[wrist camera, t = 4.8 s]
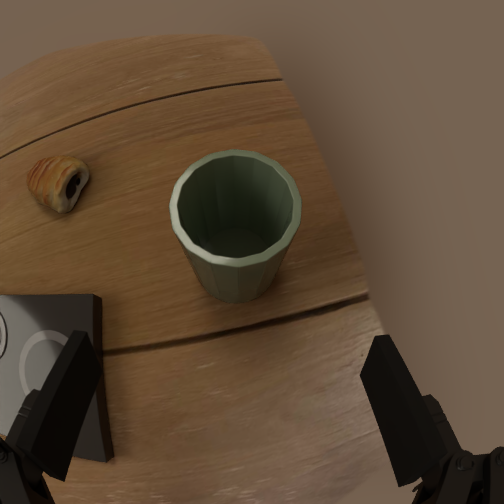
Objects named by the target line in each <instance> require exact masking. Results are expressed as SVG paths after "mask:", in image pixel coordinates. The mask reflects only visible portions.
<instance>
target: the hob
mask: <svg viewBox="0 0 504 504" xmlns="http://www.w3.org/2000/svg"><path fill="white" fill-rule="evenodd" d="M101 300H102V298H101V297H99V296H96V295H94V294H56V295H0V434H2V435H5V436H7V435H8V433H9V431H10V428H11V426H12V424H13V422H14V420H15V418H16V416H17V415H18V411H19V409H20V407H22V406H21V405H22V403H23V401H24V399H25V397H26V396H27V395H28V394H29V393H30V392H31V391H32V390H33V389H36V390H41V388H42V386H43V384H44V382H45V380H46V378H47V376H48V374H49V372H50V371H51V369H52V367H53V365H54V363H55V361H56V360H57V358H58V356H59V354H60V353H61V351H62V349H63V347H64V346H65V344H66V342H67V340H68V339H69V337H70V335H71V334H72V332H73V330H78V331H86V332H87V333H88V336H89V338H90V341H91V344H92V346H93V349H94V351H95V354H96V356H97V359H98V361H99V364H100V366H101V368H102V371H103V359H102V331H101ZM72 456H75V457H79V458H84V459H89V460H94V461H100V462H108V461H109V460H111V459H112V458H113V457H114V454H113V448H112V442H111V436H110V430H109V423H108V415H107V407H106V398H105V387H104V375H103V372H102V375H101V377H100V380H99V382H98V385H97V387H96V390H95V393H94V395H93V398H92V400H91V403H90V406H89V408H88V411H87V414H86V417H85V419H84V422H83V425H82V428H81V431H80V434H79V437H78V440H77V443H76V446H75V449H74V452H73V455H72Z"/></svg>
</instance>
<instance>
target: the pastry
mask: <svg viewBox="0 0 504 504" xmlns="http://www.w3.org/2000/svg"><path fill="white" fill-rule="evenodd" d="M88 179H89V169H88V166H87V164H84V163H83V162H82V161H81V160H78V159H77V158H75V157H68V156H64V155H63V156H57V157H51V158H50V157H49V158H44V159H42V160H39V161H38V162H37V163H36V165H34V167H33V168H32V169H31V170H30V172H29V173H28V174H27V186H28V189H29V191H30V192H31V194H32V195H33V196H34V197H35V198H36V199H37V201H38V203H39V204H41V205H46V206H49V207H50V208H52V209H54V210H57V211H58V213H65V212H69V211H70V210H71V209H72V208H73V206H74V204H75V203H76V201H77V199H78V197H79V194H80V191H81V189H82V188H83V187H84V185H85V184H86V182H87V181H88Z"/></svg>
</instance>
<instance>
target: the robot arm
mask: <svg viewBox="0 0 504 504" xmlns="http://www.w3.org/2000/svg"><path fill="white" fill-rule="evenodd" d="M102 372H103V371H102V368H101V366H100V364H99V361H98V359H97V356H96V354H95V351H94V349H93V346H92V344H91V341H90V338H89V336H88V333H87V332H86V331H78V330H73V332H72V334H71V335H70V337H69V339H68V340H67V342H66V344H65V346H64V347H63V349H62V351H61V353H60V354H59V356H58V358H57V360H56V361H55V363H54V365H53V367H52V369H51V371H50V372H49V374H48V376H47V378H46V380H45V382H44V384H43V386H42V388H41V390H36V389H33V390H32V391H31V392H30V393H29V394H28V395H27V396H26V397H25V399H24V401H23V403H22V405H21V406H22V407H20V409H19V411H18V415H17V416H16V418H15V420H14V422H13V424H12V426H11V428H10V431H9V433H8V435H7V437H6V439H5V441H4V440H3V439H2V438H1V437H0V504H55V502H54V500H53V498H52V496H51V493H50V491H49V489H48V486H47V484H46V482H45V479H44V478H43V476H42V473H43V471H44V472H45V473H46V474H48V475H49V476H50V477H53V478H56V479H58V480H61V481H64V482H65V478H66V475H67V472H68V468H69V465H70V462H71V458H72V455H73V452H74V449H75V446H76V443H77V440H78V437H79V434H80V431H81V428H82V425H83V422H84V419H85V417H86V414H87V411H88V408H89V406H90V403H91V400H92V398H93V395H94V393H95V390H96V387H97V385H98V382H99V380H100V377H101V375H102ZM360 377H361V380H362V383H363V385H364V388H365V391H366V393H367V396H368V399H369V401H370V404H371V407H372V410H373V412H374V415H375V418H376V421H377V423H378V426H379V429H380V432H381V435H382V438H383V441H384V444H385V446H386V449H387V452H388V455H389V458H390V461H391V465H392V468H393V471H394V474H395V477H396V480H397V483H398V487H401V486H404V485H407V484H410V483H413V482H415V481H416V480H417V479H419V478H420V477H421V478H422V480H423V481H422V482H421V483H420V484H418V485H417V486H416V487H415V488H414V489H413V491H412V492H415V491H416V490H417V489H418V491H417V493H416V496H415V498H414V500H413V502H412V504H504V447H497V448H495V449H494V450H493V451H492V452H491V453H490V454H481V455H473V454H472V453H470V452H469V451H466V450H465V451H464V450H463V449H461V447H460V445H459V443H458V441H457V438H456V436H455V434H454V432H453V430H452V428H451V426H450V424H449V422H448V421H447V418H446V416H445V414H444V413H443V410H442V408H441V406H440V404H439V402H438V401H437V400H436V399H435V398H434V397H433V396H432V395H431V394H429V395H426V396H422V395H421V393H420V391H419V389H418V387H417V386H416V384H415V382H414V380H413V378H412V376H411V374H410V372H409V370H408V368H407V366H406V365H405V363H404V361H403V359H402V357H401V355H400V353H399V352H398V350H397V348H396V346H395V344H394V342H393V341H392V339H391V337H390V335H379V336H375V337H374V340H373V342H372V345H371V348H370V350H369V353H368V356H367V358H366V361H365V363H364V366H363V368H362V371H361V373H360Z"/></svg>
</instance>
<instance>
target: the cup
mask: <svg viewBox="0 0 504 504" xmlns="http://www.w3.org/2000/svg"><path fill="white" fill-rule="evenodd" d="M301 209H302V199H301V196H300V194H299V191H298V188H297V186H296V183H295V181H294V179H293V178H292V177H291V175H290V174H289V173H288V172H287V171H286V170H285V169H284V168H283V167H282V166H281V165H280V164H279V163H278V162H276V161H274V160H272V159H270V158H268V157H266V156H264V155H262V154H260V153H258V152H253V151H245V150H237V149H231V150H226V151H221V152H216V153H211V154H209V155H207V156H205V157H203V158H202V159H200V160H198V161H197V162H195V163H193V164H192V165H190V166H189V167H188V168H187V169H186V171H185V172H184V173H183V174H182V176H181V177H180V178H179V179H178V181H177V182H176V183H175V185H174V189H173V192H172V196H171V199H170V203H169V211H170V218H171V224H172V229H173V231H174V233H175V235H176V237H177V239H178V241H179V243H180V245H181V247H182V249H183V251H184V253H185V255H186V257H187V259H188V261H189V263H190V265H191V267H192V269H193V270H194V272H195V274H196V276H197V278H198V280H199V281H200V283H201V284H202V286H203V287H204V288H205V290H206V291H207V292H208V293H209V294H210V295H212V296H213V297H215V298H217V299H219V300H221V301H224V302H228V303H244V302H248V301H251V300H253V299H256V298H257V297H259V296H260V295H262V294H263V293H264V292H265V291H266V290H267V289H268V288H269V286H270V284H271V283H272V281H273V279H274V277H275V276H276V274H277V271H278V269H279V267H280V265H281V263H282V261H283V259H284V257H285V255H286V253H287V251H288V249H289V247H290V245H291V242H292V240H293V238H294V236H295V234H296V232H297V230H298V228H299V226H300V223H301Z"/></svg>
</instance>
